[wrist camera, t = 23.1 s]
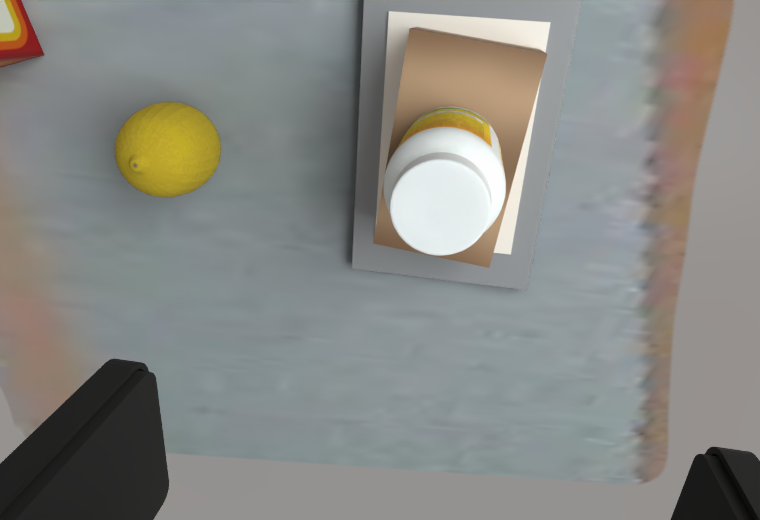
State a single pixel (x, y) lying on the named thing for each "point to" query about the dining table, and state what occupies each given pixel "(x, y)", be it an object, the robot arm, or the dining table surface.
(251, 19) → the dining table surface
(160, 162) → the lemon
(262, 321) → the dining table surface
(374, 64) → the baseplate
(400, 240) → the walnut slab
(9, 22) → the baking soda box
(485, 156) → the supplement bottle
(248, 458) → the dining table surface
